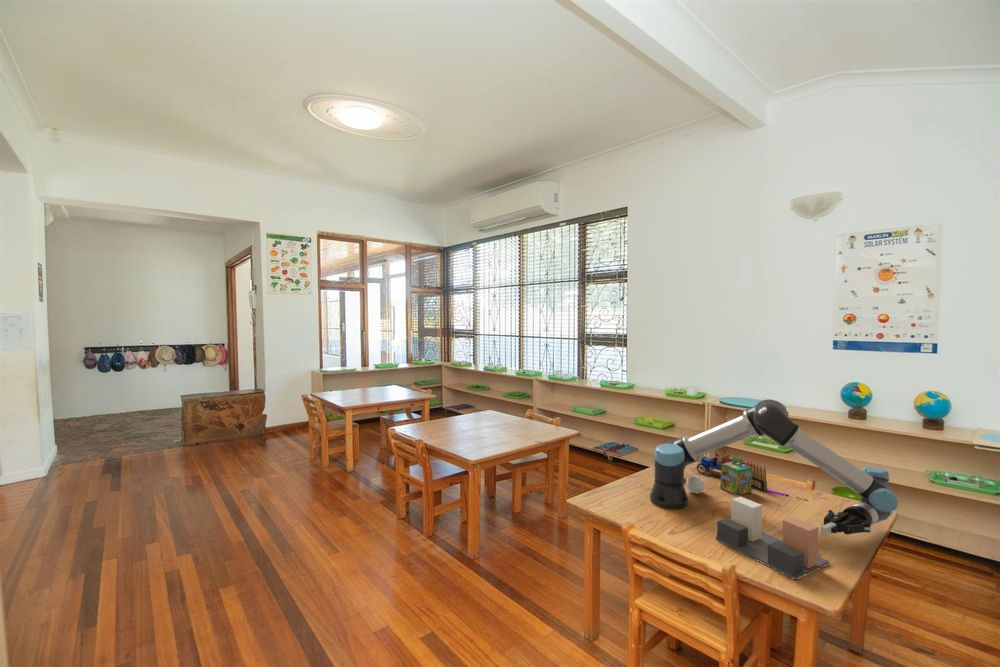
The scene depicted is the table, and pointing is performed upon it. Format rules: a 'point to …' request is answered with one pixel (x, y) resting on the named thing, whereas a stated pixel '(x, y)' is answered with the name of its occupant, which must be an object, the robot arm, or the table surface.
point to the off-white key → (748, 516)
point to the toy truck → (714, 463)
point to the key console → (765, 549)
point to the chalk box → (736, 477)
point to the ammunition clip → (758, 476)
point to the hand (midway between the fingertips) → (823, 531)
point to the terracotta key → (801, 539)
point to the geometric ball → (695, 484)
